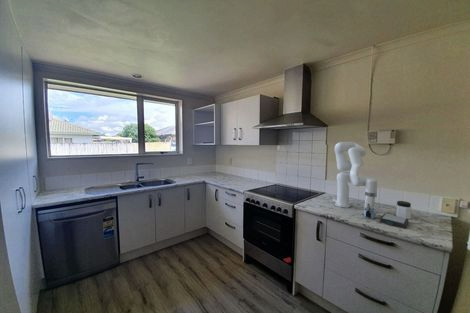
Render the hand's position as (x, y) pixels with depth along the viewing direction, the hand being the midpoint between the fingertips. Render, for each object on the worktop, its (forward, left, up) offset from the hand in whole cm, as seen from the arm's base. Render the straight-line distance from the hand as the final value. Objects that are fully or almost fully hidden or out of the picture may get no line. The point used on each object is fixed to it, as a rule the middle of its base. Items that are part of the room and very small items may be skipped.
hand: (369, 215), depth 149 cm
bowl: (0, 0, -1) cm, 1 cm away
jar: (+18, +19, -1) cm, 26 cm away
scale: (+15, +1, -1) cm, 15 cm away
